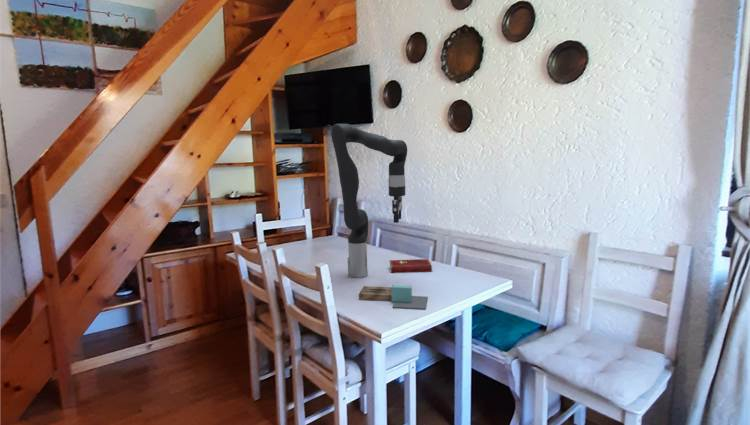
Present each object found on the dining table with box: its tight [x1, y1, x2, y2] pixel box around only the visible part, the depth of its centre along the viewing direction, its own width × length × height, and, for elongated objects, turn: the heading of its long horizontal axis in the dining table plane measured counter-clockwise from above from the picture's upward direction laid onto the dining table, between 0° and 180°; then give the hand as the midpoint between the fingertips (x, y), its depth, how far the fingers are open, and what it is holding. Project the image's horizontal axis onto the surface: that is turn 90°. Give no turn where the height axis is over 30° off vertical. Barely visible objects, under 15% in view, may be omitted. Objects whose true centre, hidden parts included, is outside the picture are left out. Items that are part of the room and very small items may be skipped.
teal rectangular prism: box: [390, 284, 413, 302], centre depth 170 cm, size 6×2×8 cm
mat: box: [392, 295, 429, 311], centre depth 169 cm, size 13×13×1 cm
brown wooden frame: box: [358, 285, 393, 302], centre depth 178 cm, size 14×10×3 cm
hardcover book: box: [389, 258, 433, 274], centre depth 216 cm, size 12×21×4 cm, turn 91°
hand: (397, 220), depth 187 cm, fingers open, 8 cm apart
